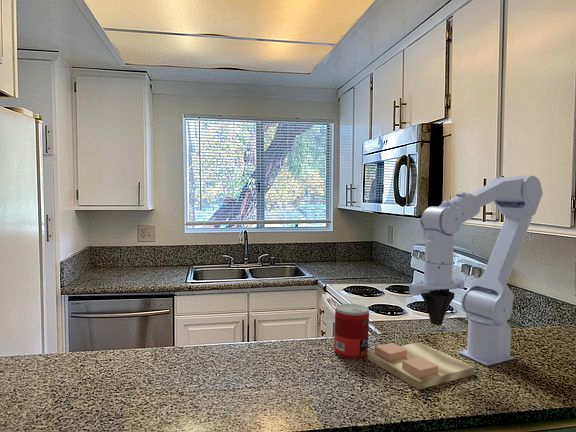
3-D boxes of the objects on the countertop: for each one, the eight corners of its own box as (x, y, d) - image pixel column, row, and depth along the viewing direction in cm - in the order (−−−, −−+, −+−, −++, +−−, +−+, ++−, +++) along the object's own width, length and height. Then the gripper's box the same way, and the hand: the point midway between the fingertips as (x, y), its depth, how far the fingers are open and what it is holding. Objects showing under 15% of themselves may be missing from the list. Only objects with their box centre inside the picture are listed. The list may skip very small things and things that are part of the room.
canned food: (367, 361, 94) (369, 313, 93) (332, 357, 95) (333, 311, 95) (368, 348, 101) (369, 304, 100) (335, 345, 103) (336, 302, 102)
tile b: (420, 356, 88) (402, 360, 86) (438, 365, 84) (420, 370, 82) (419, 364, 88) (402, 368, 86) (437, 373, 84) (419, 378, 82)
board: (419, 348, 102) (419, 342, 102) (474, 374, 88) (474, 367, 88) (367, 359, 95) (367, 352, 95) (418, 389, 80) (418, 381, 80)
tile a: (391, 342, 96) (374, 346, 94) (406, 350, 92) (389, 354, 90) (391, 349, 96) (374, 353, 94) (406, 357, 92) (389, 361, 90)
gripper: (447, 257, 96) (444, 314, 96) (400, 261, 89) (397, 323, 90) (473, 262, 89) (470, 323, 90) (424, 267, 83) (422, 333, 83)
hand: (436, 323), depth 89 cm, fingers closed
